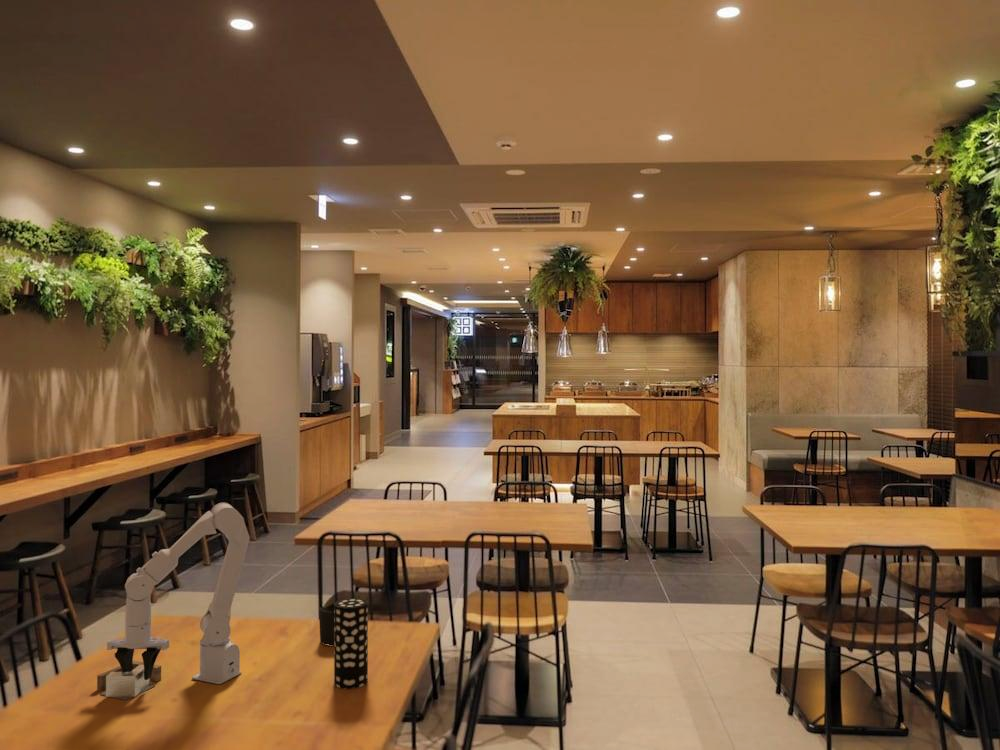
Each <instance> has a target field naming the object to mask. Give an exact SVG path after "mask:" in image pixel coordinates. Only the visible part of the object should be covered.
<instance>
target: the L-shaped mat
mask: <svg viewBox="0 0 1000 750" xmlns="http://www.w3.org/2000/svg"><path fill="white" fill-rule="evenodd" d="M155 686H156V685H153V684H149V686H147V687H146V688H145V689H144V690H143V691H141V692H140V693H139V694H138V695H140V694H143V693H144V692H147V691H149V690H151V689H153V688H155ZM99 695H101V696H104V697H106V691H104V692H102V693H99ZM112 698H113V699H118V700H122V701H127V700H130V699H132V698H133V697H111V699H112Z"/></svg>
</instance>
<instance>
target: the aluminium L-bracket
mask: <svg viewBox="0 0 1000 750" xmlns="http://www.w3.org/2000/svg"><path fill="white" fill-rule="evenodd" d="M149 685H150V680H149V679H148V680H144V665H139V666H137V667H136V668H135V669H133V670H132V671H131V672H111V673H110V674H108V675H107V676H106V689H105V692H106V696H105V697H106V698H112V697H132V698H136V697H137V696H138V695H140V694H141V693H140V692H141V691H143V690H144V689H145V688H146V687H147V686H149ZM139 693H140V694H139Z"/></svg>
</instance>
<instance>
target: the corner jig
mask: <svg viewBox="0 0 1000 750" xmlns="http://www.w3.org/2000/svg"><path fill="white" fill-rule="evenodd" d="M139 665H144V663H143V661H139V660H138V661H137V660H133V661H132V670H133V669H135V668H136V667H137V666H139ZM111 672H123V671H122V668H121V666H120V665H119V666H117V667H114V668H112V669H109V670H107V671H105V672H102V673H100V674H97V676H96V677H97V678H96V680H97V681H96V682H97V683H96V690H97V691H104V690H106V676H107V675H108V674H110V673H111ZM150 681H151V682H154V683H157V682H159V681H162V665H158V664H154V666H153V670H152V674H151V677H150V678H149V682H150Z"/></svg>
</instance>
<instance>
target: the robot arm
mask: <svg viewBox="0 0 1000 750" xmlns="http://www.w3.org/2000/svg"><path fill="white" fill-rule="evenodd" d="M216 529H217V530H218V531H220V532H222V533H223V535H224V536H225V538H226V539H227V541H228V543H227V544H228V545H227V548H226V551H225V554H224V558H223V562H222V564H221V565H222V566H221V569H220V572H219V576H218V579H217V583H216V586H215V590H214V592H213V596H212V599H211V600H212V601H211V602H210V603H209V605H208V607H207V610H206V613H205V614H204V615H203V616H202V617H201V619H200V622H199V628H200V630H201V632H202V634H203V636H202V637H201V639H200V640H199V673H196V674H195V675H193V676H192V677H191V679H193V680H197V681H201V682H206V683H211V684H217V685H221V684H223V683H225V682H227V681H229V680H231V679H233V678H235V677H237V676H238V675H240V674H242V673H243V671H242V670H240V667H241V666H240V660H241V659H240V656H241V654H240V648H239V646H238V645H237V644H236V643H233V642H232V641H231V637H230V635H231V631H232V630H231V626H230V624H231V623H230V621H231V616H232V604H233V601H234V597H235V595H236V594H235V593H236V590H237V586H238V583H239V579H240V576H241V573H242V569H243V565H244V562H245V559H246V554H247V551H248V548H249V544H250V534H249V532H248V528H247V526H246V523H245V518H244V517H243V516H242V514H241V513H240V512H239V511H238V510H237V509H236V508H235V507H233V505H231V504H229V503H228V502H219V503H217V504H215V505H214V506H213V507H212V508H211V510H208V511H206V512H205V513H204V514H203V515H201V517H200V518H199V519H198V520H196V521H195V522H194V523H193V524H192V525H191V526H190V528H188V529H187V531H185V532H184V533H183V534H182V536H181V537H180V538H179V539H178V540H176V542H174V543H173V544H172V545H171V546H170V547H169V548H164V549H160V550H159V551H158V552H157V551H154V552H153V553H152V554H151V556H152V558H150V559H149V560H148V561H147V562H146V563H145V564H143V566H142V567H138V568H137V569H136V573H134V572H133V573H132V574H131V575H130V576H128V577H127V579H126V582H125V584H124V589H125V594H126V598H125V603H126V605H125V620H124V621H125V623H124V624H125V627H124V628H125V637H124V638H115V639H110V640H108V641H107V642H106V650H107V651H112V650H116V652H114V658H116V660H117V662H118V663H119V666H121V668H122V671H123V672H131V671H132V661H133V659H134V654H135V650H145V651H143V652H142V653H141V658H142V660H143V661H142V662H143V663H144V680H148V679H149V678H150V677H151V674H152V670H153V666H154V665H155V663H156V661H157V658H158V656H159V654H160V652H161V650H162V651H166V650H167V649H169V648H170V639H167V638H166V639H165V638H159V637H152V602H151V595H152V592H153V591H154V586H156V585H158V584H159V583H161V581H163V580H164V579H165V578H166V577H167V576H168V575H169V574H171V573H172V571H173V570H175V568H176V567H177V566H178V563H179V558H180V557H181V556H183V555H184V553H186V551H188V550H189V549H191V547H192V546H194V545H195V544H196V543H197V542H198V541H200V540H201V538H203V537H205V536H209V535H215V534H218V532H217V531H216Z"/></svg>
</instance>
